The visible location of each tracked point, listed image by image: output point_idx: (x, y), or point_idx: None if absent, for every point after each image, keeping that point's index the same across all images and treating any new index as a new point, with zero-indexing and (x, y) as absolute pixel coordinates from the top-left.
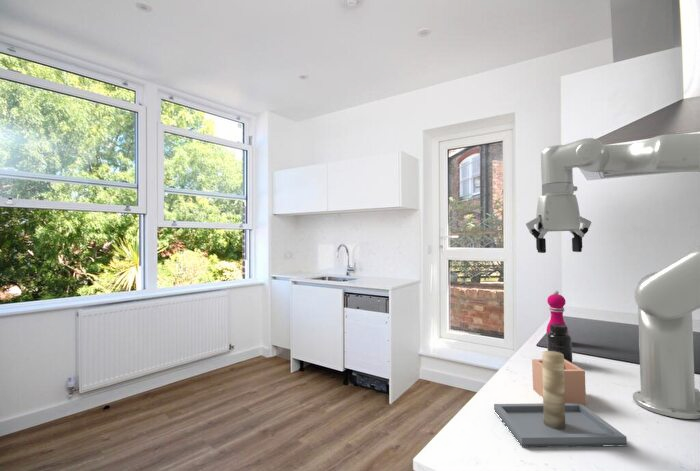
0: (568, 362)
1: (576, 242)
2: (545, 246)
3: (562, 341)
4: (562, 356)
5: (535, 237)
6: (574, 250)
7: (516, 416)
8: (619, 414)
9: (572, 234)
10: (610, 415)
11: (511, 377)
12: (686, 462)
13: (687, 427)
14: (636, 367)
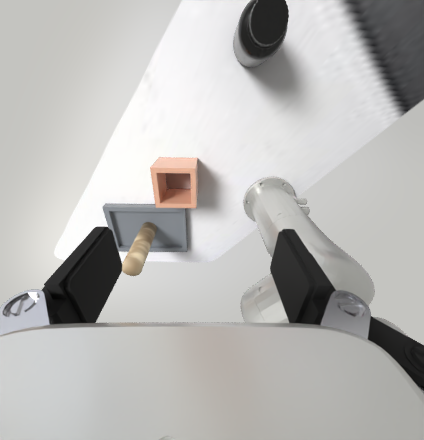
0: (193, 181)
1: (286, 293)
2: (109, 291)
3: (253, 59)
4: (138, 274)
5: (22, 307)
6: (276, 247)
7: (122, 216)
8: (214, 211)
9: (324, 312)
10: (205, 212)
11: (144, 114)
12: (210, 260)
13: (249, 229)
14: (353, 82)
